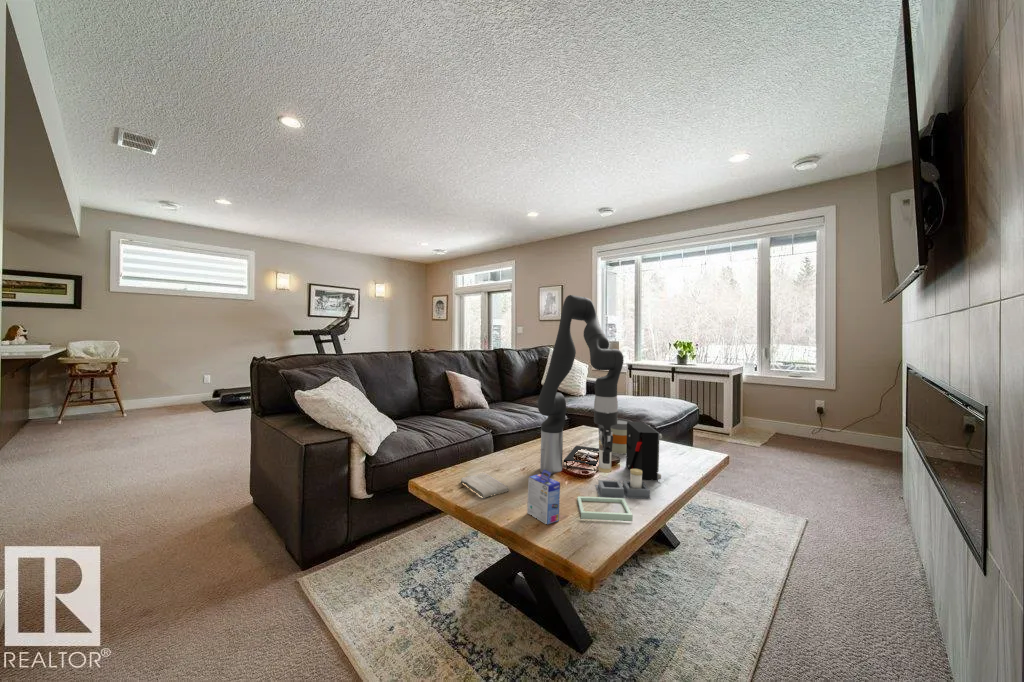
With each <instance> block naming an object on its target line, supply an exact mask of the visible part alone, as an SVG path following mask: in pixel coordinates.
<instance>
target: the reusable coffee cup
mask: <svg viewBox="0 0 1024 682" xmlns="http://www.w3.org/2000/svg"><path fill="white" fill-rule="evenodd" d="M627 422H633V421H632V420H630V419H627V418H626V419H625V418H617V424H616V425H614V426H613V425H612V426H611V430H612V432H613V435H612V436H613V444H612V453H614V454H619V455H626V446H627Z"/></svg>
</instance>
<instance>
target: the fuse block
mask: <svg viewBox="0 0 1024 682" xmlns="http://www.w3.org/2000/svg"><path fill="white" fill-rule="evenodd" d="M629 472H630V475H629V476H630V479H629V480H622V483H621V481H620V480H613V479H612V480H610V479H609V480H608V479H597V480H598V484H594V487H595V489H596V492H597V495H598V497H605V498H624V499H628V500H629V499H633V500H652V498H651V490H650V488H649V487H648V485H647V484H646V483H645V481H643V480H642V470H640V469H630V471H629Z"/></svg>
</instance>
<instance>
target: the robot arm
mask: <svg viewBox="0 0 1024 682" xmlns="http://www.w3.org/2000/svg"><path fill="white" fill-rule="evenodd" d="M561 309H562V310H561V314H560V315H561V316H560V319H559V325H558V330H557V331H558V332H557V334H556V339H555V343H554V346H553V349H552V353H551V357H550V361H549V366H548V369H547V373H546V375H545V380H544V383H543V385H542V388H541V390H540V394H539V396H538V400H537V409H538V412H539V414H540V415H542V416H545V417H546V416H547V418H546V419H545V420H544V421H543V422H542V423H541V427H540V461H539V462H540V466H539V469H540V474H542V472H543V470H546V471H548V472H551V475H555V473H560V472H562V471H563V451H564V450H563V445H564V444H563V443H564V439H563V438H564V437H563V436H564V427H565V425H566V415H567V401H566V398H565V396H564V394H562V392H558V389H559V388H560V386H561V384H562V382H563V381H564V380H565V378H566V377H567V376H568V375H569V373H570V372H571V370H572V369H573V365H574V361H575V358H576V354H577V353H576V352H577V351H576V346H575V343H574V340H573V337H572V334H571V333H572V332H571V324H572V320H576V321H583V322H585V324H586V325H585V327H584V330H583V338H584V341H585V343H586V345H587V348H588V349H589V355H590V357H589V358H590V359H589V361H590V365H591V367H592V368H593V369H595V370H596V371H608V372H607V374H606V375H603V376H600V377H597V378H596V379H595V383H594V384H595V387H594V389H595V390H594V391H595V392H594V395H595V396H594V403H593V405H594V406H593V407H594V408H593V412H594V413H593V422H594V424H596V425H598V427H597V428H598V440H599V439H601V444H602V451H603V460H602V462H603V463H604V464H609V463H610V452H612V444H613V436H612V435H613V432H612V430H611V426H612V425H613V426H614V425H616V424H617V419H618V415H619V414H618V412H619V411H618V410H619V409H618V407H619V404H618V384H619V383H618V382H619V379H620V375H621V371H622V369H623V365H624V362H625V361H624V359H625V358H624V355H623V352H622V351H621V350H620V349H617V348H609V347H610V342H609V339H608V338H607V336H606V334H605V332H604V331H603V329H602V327H601V324H600V322H599V318H598V317H599V316H598V315H597V311H596V308H595V305H594V303H593V301H592V299H590V298H588V297H585V296H580V295H579V296H578V295H575V294H569V295H567V296H566V297H565V299H564V301H563V305H562V308H561ZM603 441H604V442H603ZM606 446H609V448H606ZM612 453H613V452H612ZM545 474H547V473H545ZM547 475H548V474H547Z"/></svg>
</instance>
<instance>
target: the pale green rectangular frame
mask: <svg viewBox="0 0 1024 682" xmlns="http://www.w3.org/2000/svg"><path fill="white" fill-rule="evenodd" d="M576 499H577V504H578V509H579V513H580V519H582V520H597V521H598V520H600V521H601V520H603V521H618V522H619V521H620V522H633V517H634V516H633V513H632V511H631V510H630V507H629V505H628V503H627V502H626V498H606V497H599V496H583V495H582V496H577V497H576ZM582 501H583V502H602V503H620V504H622V506H623V508H624V510H625V512H611V511H610V512H609V511H608V512H606V511H585V509H584V506H583V502H582Z"/></svg>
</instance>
